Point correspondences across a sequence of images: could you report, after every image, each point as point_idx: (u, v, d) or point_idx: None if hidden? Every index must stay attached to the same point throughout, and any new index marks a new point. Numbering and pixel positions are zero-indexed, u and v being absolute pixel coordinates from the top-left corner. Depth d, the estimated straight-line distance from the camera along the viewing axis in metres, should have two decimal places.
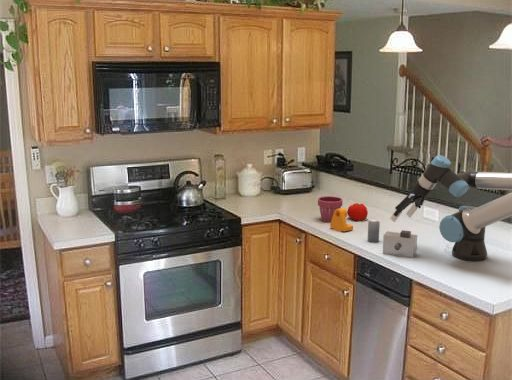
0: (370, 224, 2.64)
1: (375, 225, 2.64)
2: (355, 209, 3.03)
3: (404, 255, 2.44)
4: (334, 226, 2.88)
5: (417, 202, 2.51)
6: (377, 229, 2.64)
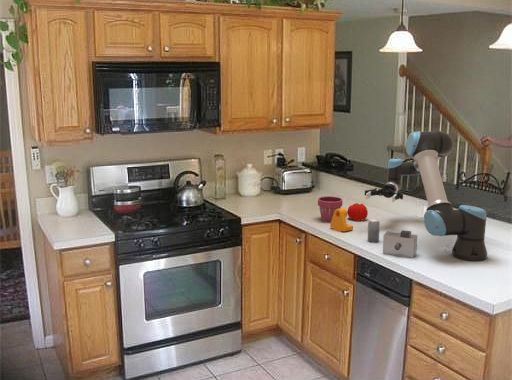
0: (370, 224, 2.64)
1: (375, 225, 2.64)
2: (355, 209, 3.03)
3: (404, 255, 2.44)
4: (334, 226, 2.88)
5: (393, 194, 2.78)
6: (377, 229, 2.64)
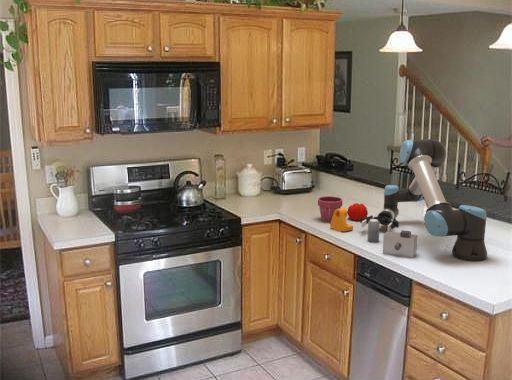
0: (370, 224, 2.64)
1: (375, 225, 2.64)
2: (355, 209, 3.03)
3: (404, 255, 2.44)
4: (334, 226, 2.88)
5: (389, 222, 2.77)
6: (377, 229, 2.64)
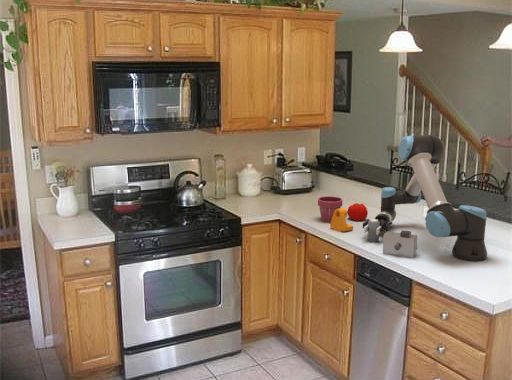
0: (370, 224, 2.64)
1: (375, 225, 2.64)
2: (355, 209, 3.03)
3: (404, 255, 2.44)
4: (334, 226, 2.88)
5: (381, 225, 2.70)
6: None
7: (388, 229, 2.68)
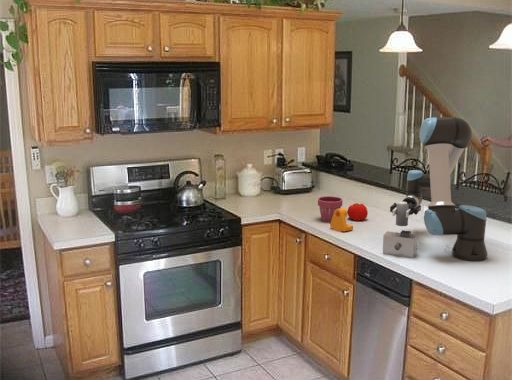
0: (399, 207, 2.52)
1: (404, 208, 2.51)
2: (355, 209, 3.03)
3: (404, 255, 2.44)
4: (334, 226, 2.88)
5: (409, 208, 2.58)
6: None
7: (417, 212, 2.55)
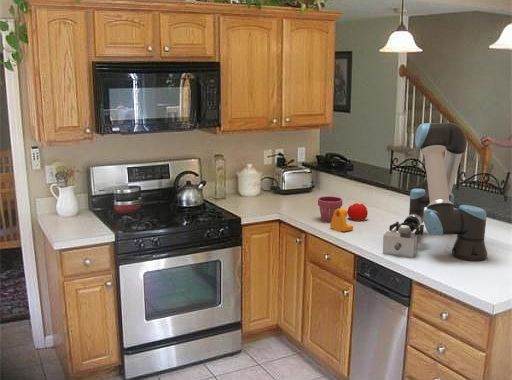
0: None
1: None
2: (356, 209, 3.03)
3: (404, 255, 2.44)
4: (334, 226, 2.88)
5: (414, 228, 2.58)
6: None
7: None
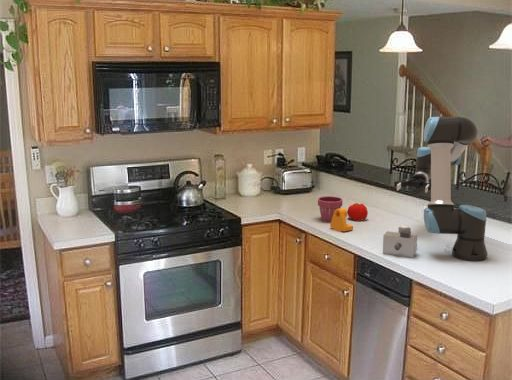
0: None
1: None
2: (355, 209, 3.03)
3: (404, 255, 2.44)
4: (334, 226, 2.88)
5: (425, 184, 2.65)
6: None
7: None
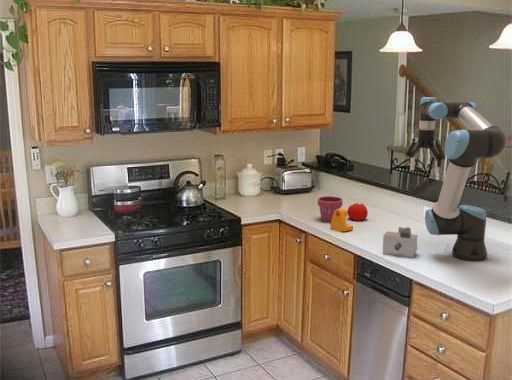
0: None
1: None
2: (355, 209, 3.03)
3: (404, 255, 2.44)
4: (334, 226, 2.88)
5: None
6: None
7: (443, 153, 2.56)
